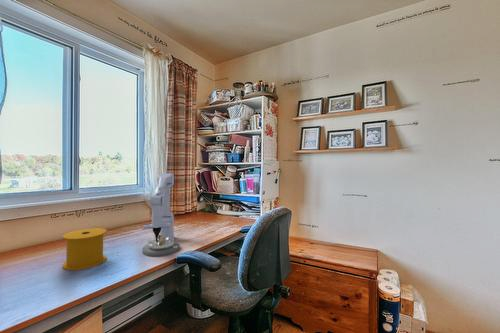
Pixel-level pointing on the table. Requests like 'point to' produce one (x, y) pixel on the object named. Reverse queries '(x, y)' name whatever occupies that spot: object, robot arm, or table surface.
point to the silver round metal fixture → (161, 243)
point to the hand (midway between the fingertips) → (156, 241)
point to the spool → (84, 248)
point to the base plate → (160, 252)
